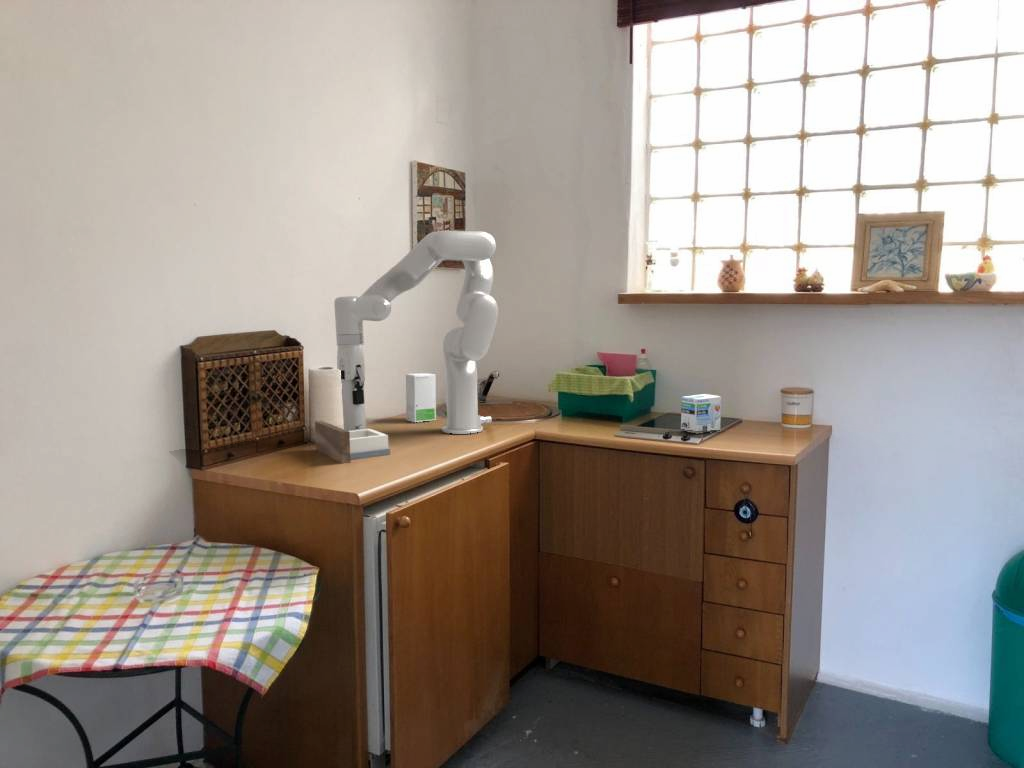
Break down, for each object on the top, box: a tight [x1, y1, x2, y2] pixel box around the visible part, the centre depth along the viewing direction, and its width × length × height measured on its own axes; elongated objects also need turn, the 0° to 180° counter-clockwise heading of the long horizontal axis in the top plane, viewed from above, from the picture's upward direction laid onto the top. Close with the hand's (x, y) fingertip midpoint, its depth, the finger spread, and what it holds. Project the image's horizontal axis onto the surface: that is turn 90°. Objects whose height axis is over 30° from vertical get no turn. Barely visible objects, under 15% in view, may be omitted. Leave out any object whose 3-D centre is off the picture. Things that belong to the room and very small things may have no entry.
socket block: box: [349, 428, 391, 461], centre depth 213 cm, size 12×14×5 cm
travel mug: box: [340, 370, 367, 431], centre depth 228 cm, size 6×7×20 cm
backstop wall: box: [314, 420, 351, 464], centre depth 209 cm, size 2×20×8 cm, turn 33°
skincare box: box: [405, 373, 437, 423], centre depth 262 cm, size 8×7×16 cm
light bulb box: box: [680, 393, 722, 431], centre depth 240 cm, size 11×7×11 cm, turn 123°
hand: (353, 402), depth 228 cm, fingers closed on travel mug, 6 cm apart
